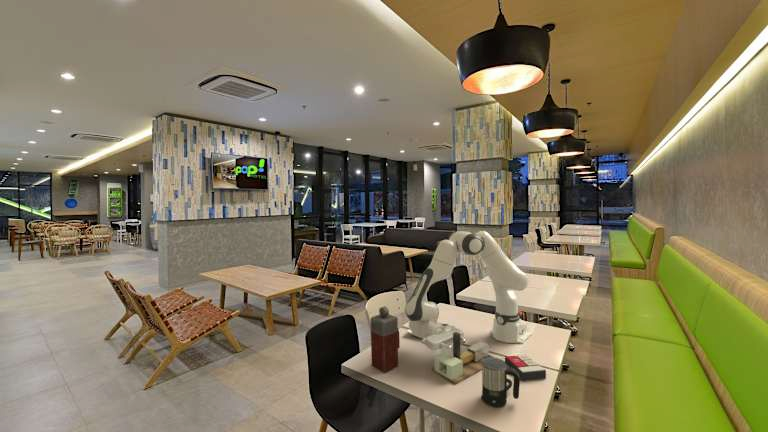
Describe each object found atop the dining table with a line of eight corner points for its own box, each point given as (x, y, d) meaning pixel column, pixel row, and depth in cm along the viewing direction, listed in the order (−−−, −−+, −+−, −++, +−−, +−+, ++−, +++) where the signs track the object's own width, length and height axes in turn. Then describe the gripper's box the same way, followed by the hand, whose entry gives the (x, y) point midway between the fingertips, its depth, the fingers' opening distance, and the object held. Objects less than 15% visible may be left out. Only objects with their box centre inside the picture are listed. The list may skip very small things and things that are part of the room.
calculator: (526, 353, 154) (546, 369, 139) (526, 362, 154) (546, 379, 139) (504, 355, 152) (522, 371, 138) (504, 364, 153) (522, 381, 138)
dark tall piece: (471, 355, 155) (471, 325, 154) (476, 357, 153) (476, 327, 152) (444, 367, 144) (444, 335, 143) (450, 370, 142) (450, 338, 141)
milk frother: (484, 408, 121) (485, 369, 120) (473, 383, 137) (473, 349, 136) (523, 407, 121) (524, 369, 120) (507, 382, 137) (508, 348, 136)
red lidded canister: (402, 364, 153) (401, 305, 151) (384, 373, 145) (383, 312, 143) (388, 357, 159) (387, 301, 157) (371, 365, 152) (370, 307, 150)
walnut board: (474, 349, 165) (474, 348, 165) (498, 361, 154) (498, 359, 154) (431, 370, 147) (431, 368, 147) (455, 384, 136) (455, 382, 136)
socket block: (445, 364, 150) (445, 352, 149) (462, 374, 142) (462, 361, 141) (434, 370, 146) (434, 357, 145) (451, 380, 138) (451, 366, 137)
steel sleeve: (479, 351, 161) (479, 341, 161) (489, 356, 156) (489, 345, 156) (466, 358, 155) (466, 347, 155) (476, 363, 150) (476, 352, 150)
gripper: (419, 334, 150) (441, 345, 139) (449, 322, 162) (472, 332, 151) (419, 347, 150) (441, 359, 139) (449, 335, 162) (472, 345, 151)
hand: (458, 345), depth 145 cm, fingers open, 8 cm apart
